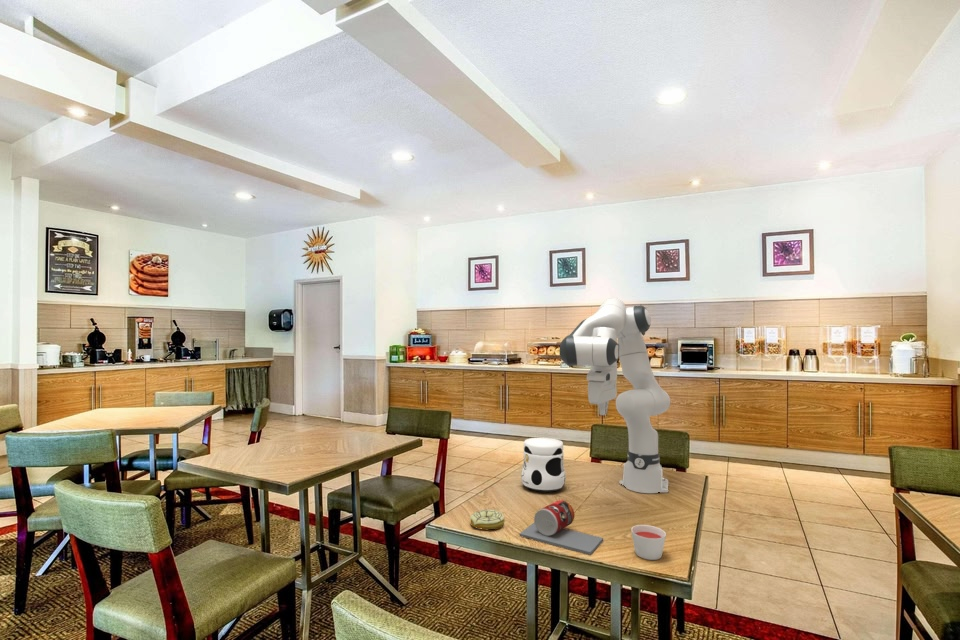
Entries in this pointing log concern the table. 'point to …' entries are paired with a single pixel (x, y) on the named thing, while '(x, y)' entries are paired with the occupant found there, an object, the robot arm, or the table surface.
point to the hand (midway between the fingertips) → (603, 414)
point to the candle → (648, 541)
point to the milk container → (543, 464)
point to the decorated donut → (487, 519)
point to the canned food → (554, 517)
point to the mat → (565, 539)
